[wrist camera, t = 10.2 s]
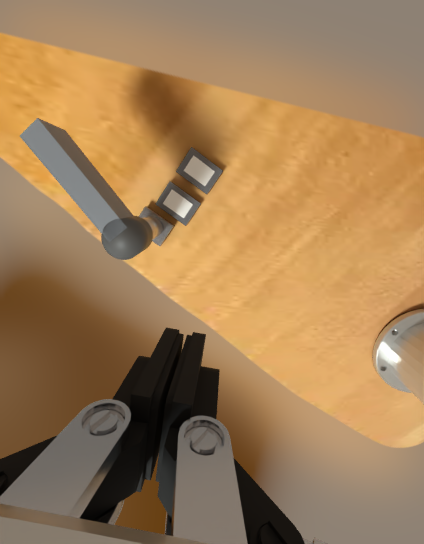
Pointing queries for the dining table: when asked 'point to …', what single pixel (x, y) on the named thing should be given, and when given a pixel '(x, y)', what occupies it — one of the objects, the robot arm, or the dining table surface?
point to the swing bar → (88, 190)
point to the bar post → (157, 225)
